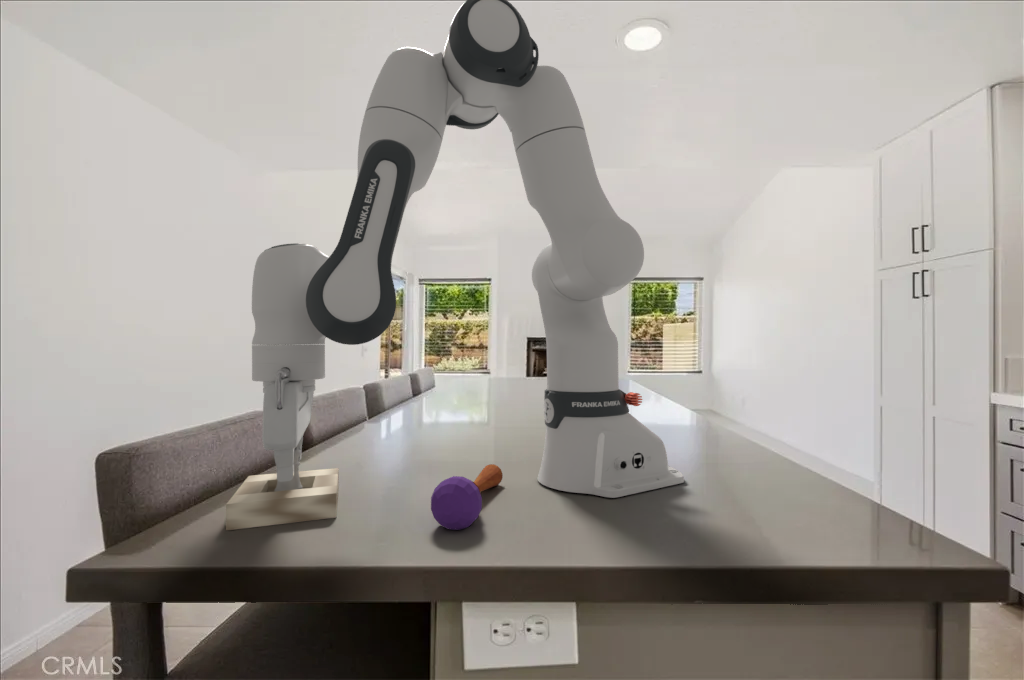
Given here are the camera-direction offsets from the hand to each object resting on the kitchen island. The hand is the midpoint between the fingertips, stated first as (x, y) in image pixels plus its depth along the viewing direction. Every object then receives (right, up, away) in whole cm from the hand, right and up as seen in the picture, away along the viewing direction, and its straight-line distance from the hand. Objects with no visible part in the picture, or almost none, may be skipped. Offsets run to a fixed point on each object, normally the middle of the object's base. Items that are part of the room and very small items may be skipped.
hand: (290, 470), depth 63 cm
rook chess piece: (0, -5, 0) cm, 5 cm away
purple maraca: (+24, -5, 0) cm, 25 cm away
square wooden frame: (0, -5, 0) cm, 5 cm away
